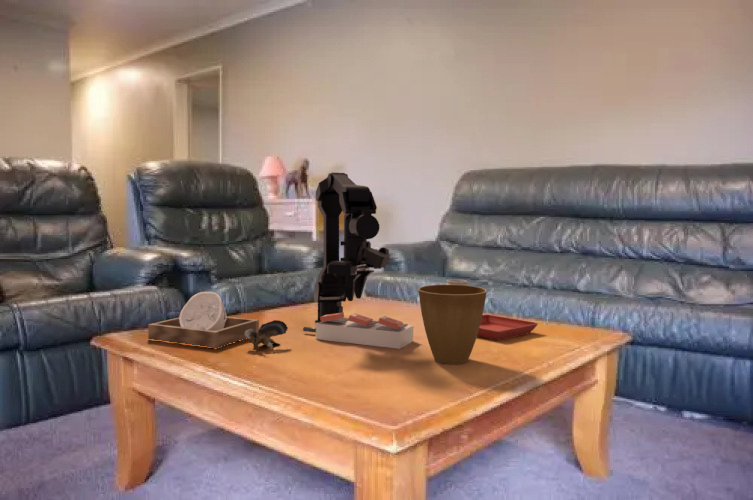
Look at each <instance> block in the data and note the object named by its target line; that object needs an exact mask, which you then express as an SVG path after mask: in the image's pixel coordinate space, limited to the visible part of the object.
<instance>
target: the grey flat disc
mask: <svg viewBox="0 0 753 500" xmlns="http://www.w3.org/2000/svg"><path fill="white" fill-rule="evenodd" d="M224 316H225V320H224ZM178 317H179V322H180V326H181V327H185V328H193V329H202V330H210V331H216V330H220V329H223V328H224V326H225V322H226V319H227V317H228V316H227V312H226V308H225V304H224V302H223V301H222V298H221V296H220V295H219V294H218V293H216V292H214V291H200V292H197V293H196V294H194V295H192V296H191V297H190V298H189V299H188V301H187V302H186V303H185V304H184V306H183V308H182V309H181V311H180V314H179V316H178Z"/></svg>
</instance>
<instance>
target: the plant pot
mask: <svg viewBox="0 0 753 500" xmlns="http://www.w3.org/2000/svg"><path fill="white" fill-rule="evenodd" d="M417 290H418V299H419V305H420V312H421V317H422V322H423V327H424V331H425V334H426V338H427V342H428V345H429V348H430V351H431V353H432V357H433V358H434V361H435V362H437V363H440V364H446V365H461V364H462V365H463V364H465V363H467V362H468V360H469V358H470V356H471V354H472V351H473V349H474V346H475V343H476V340H477V337H478V336H477V334H478V331H479V327H480V323H481V319H482V315H484V308H485V303H486V297H487V292H488V290H487V289H486V288H484V287H480V286H476V285H475V286H474V285H469V284H468V285H452V284H447V283H445V284H431V285H423V286H420V287H418V288H417Z"/></svg>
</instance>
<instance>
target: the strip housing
mask: <svg viewBox="0 0 753 500" xmlns="http://www.w3.org/2000/svg"><path fill="white" fill-rule="evenodd" d="M378 321H379V320H373V322H372V324H370V325H368V326H364V325H361V324H358V323H355V322H352V321H349V317H348V318H346V317H343V318H340V319H337V320H329V321H322V322H319V323H316V322H315V327H310V326H303V328H302V330H303V332H306V333H307V332H308V333H315V340H319V341H320V340H322V341H329V342H336V343H337V342H339V343H348V344H356V345H366V346H372V347H373V346H374V347H382V348H389V349H391V348H392V349H399V350H401V349H403V348H404V347H406V346H408V345H409V344H411V343H413V342H414V325H412V324H408V323H403V324H402V327H401V328H399V329H394V328H391V327H388V326H385V325H382V324H379V323H378Z"/></svg>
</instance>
